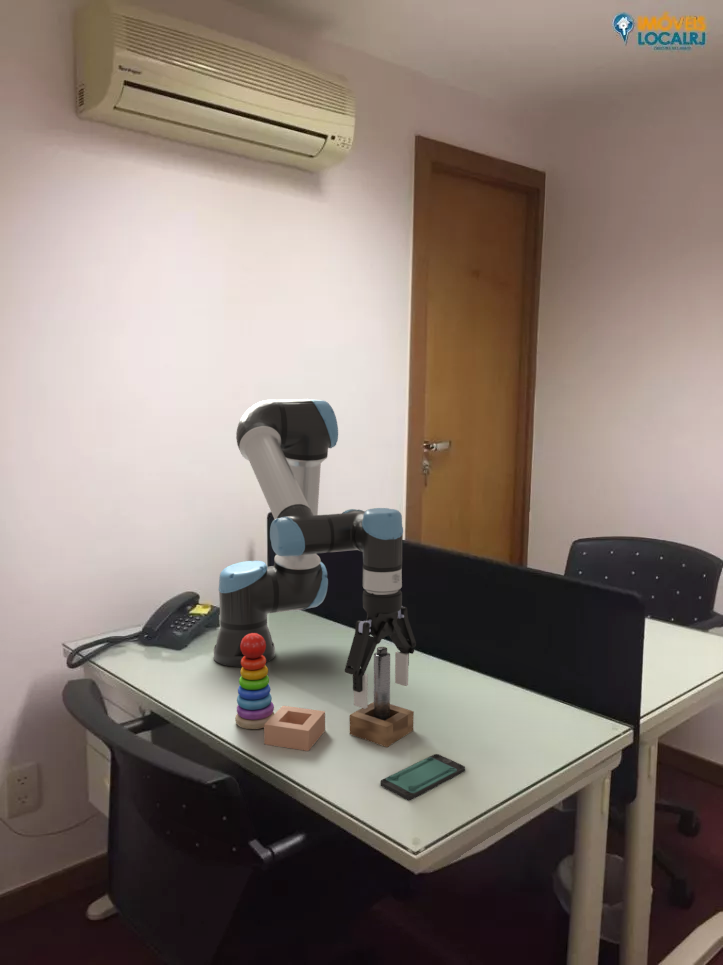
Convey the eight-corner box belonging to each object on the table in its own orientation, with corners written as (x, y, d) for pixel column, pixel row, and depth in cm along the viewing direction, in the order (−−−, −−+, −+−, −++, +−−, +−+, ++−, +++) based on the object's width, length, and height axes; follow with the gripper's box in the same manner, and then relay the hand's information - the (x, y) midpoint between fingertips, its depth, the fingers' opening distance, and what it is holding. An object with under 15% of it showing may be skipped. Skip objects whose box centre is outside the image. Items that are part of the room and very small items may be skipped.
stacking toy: (231, 717, 162) (229, 629, 160) (269, 711, 165) (268, 625, 162) (239, 733, 155) (237, 641, 152) (279, 727, 158) (278, 636, 155)
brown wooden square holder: (349, 734, 155) (349, 714, 154) (376, 718, 162) (377, 699, 161) (386, 747, 149) (386, 727, 149) (413, 730, 156) (413, 711, 156)
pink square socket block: (264, 744, 150) (264, 724, 150) (283, 724, 159) (282, 705, 158) (308, 751, 148) (308, 730, 147) (325, 730, 156) (325, 711, 156)
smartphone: (466, 765, 140) (409, 795, 130) (466, 772, 141) (409, 803, 130) (435, 751, 146) (377, 779, 136) (435, 758, 146) (377, 786, 136)
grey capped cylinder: (370, 733, 155) (370, 649, 153) (379, 727, 158) (380, 644, 155) (383, 737, 153) (383, 652, 151) (392, 731, 156) (393, 648, 153)
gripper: (357, 608, 139) (357, 722, 142) (433, 579, 159) (432, 680, 162) (325, 600, 144) (326, 711, 147) (403, 573, 163) (402, 671, 166)
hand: (381, 695), depth 154 cm, fingers open, 13 cm apart
